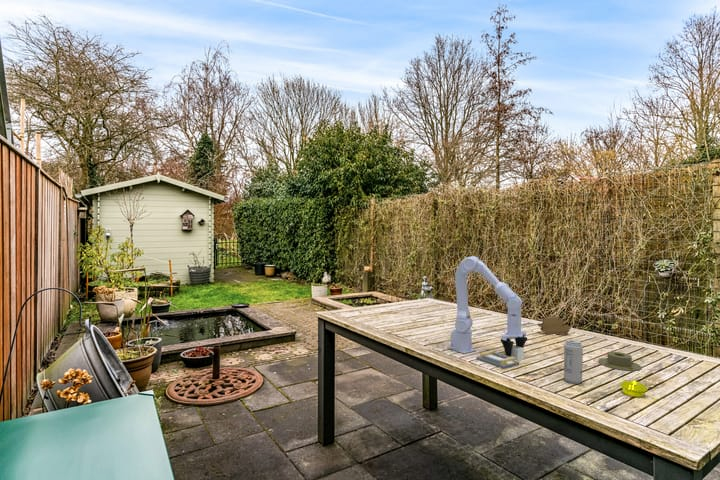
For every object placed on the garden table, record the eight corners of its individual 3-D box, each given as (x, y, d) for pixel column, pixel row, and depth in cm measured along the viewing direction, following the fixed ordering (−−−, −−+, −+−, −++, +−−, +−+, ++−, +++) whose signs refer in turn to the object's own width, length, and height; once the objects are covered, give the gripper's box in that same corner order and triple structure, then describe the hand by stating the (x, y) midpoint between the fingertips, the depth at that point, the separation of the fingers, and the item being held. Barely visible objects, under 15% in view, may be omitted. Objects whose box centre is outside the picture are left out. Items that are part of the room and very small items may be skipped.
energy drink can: (584, 385, 141) (585, 343, 141) (566, 383, 142) (567, 342, 142) (578, 378, 147) (579, 339, 147) (561, 377, 148) (561, 338, 148)
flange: (620, 348, 172) (590, 350, 170) (651, 359, 157) (618, 361, 155) (620, 359, 172) (590, 361, 170) (650, 371, 157) (618, 373, 155)
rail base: (476, 359, 169) (476, 352, 169) (491, 355, 175) (491, 349, 175) (503, 368, 158) (503, 362, 158) (519, 364, 163) (519, 357, 163)
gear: (653, 398, 130) (635, 388, 138) (653, 387, 130) (636, 378, 138) (630, 398, 130) (613, 389, 138) (630, 387, 130) (614, 378, 138)
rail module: (504, 356, 174) (504, 344, 174) (509, 355, 176) (509, 343, 176) (517, 360, 168) (517, 348, 168) (523, 359, 170) (523, 347, 170)
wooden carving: (568, 334, 213) (568, 316, 213) (571, 336, 208) (571, 317, 208) (536, 332, 216) (536, 314, 216) (538, 334, 211) (538, 316, 211)
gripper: (511, 327, 165) (511, 359, 165) (532, 323, 172) (532, 354, 172) (497, 324, 170) (497, 355, 171) (518, 320, 178) (518, 349, 178)
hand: (513, 354), depth 172 cm, fingers open, 7 cm apart
